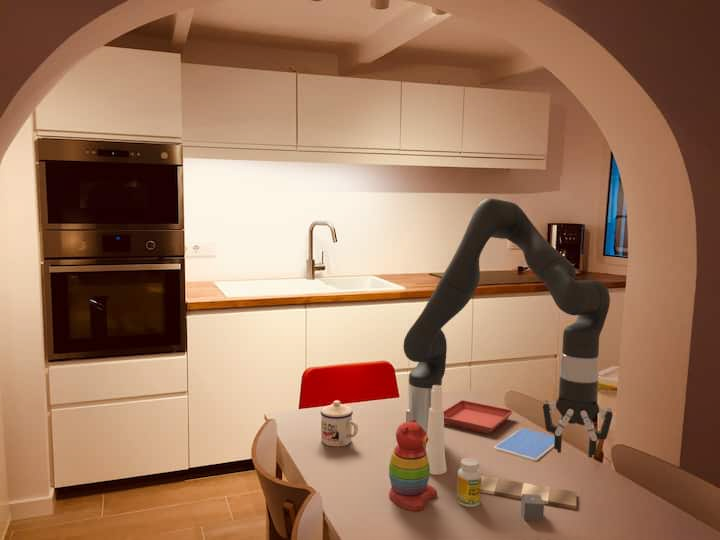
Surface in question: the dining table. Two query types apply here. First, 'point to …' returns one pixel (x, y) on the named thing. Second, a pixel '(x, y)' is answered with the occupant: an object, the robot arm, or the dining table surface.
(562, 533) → the dining table surface
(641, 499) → the dining table surface
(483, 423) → the plant saucer
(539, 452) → the blue flat rectangular panel
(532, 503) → the die
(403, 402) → the dining table surface
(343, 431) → the teacup with lid
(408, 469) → the stacking bear
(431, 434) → the cosmetic bottle
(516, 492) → the track
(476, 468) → the supplement bottle
